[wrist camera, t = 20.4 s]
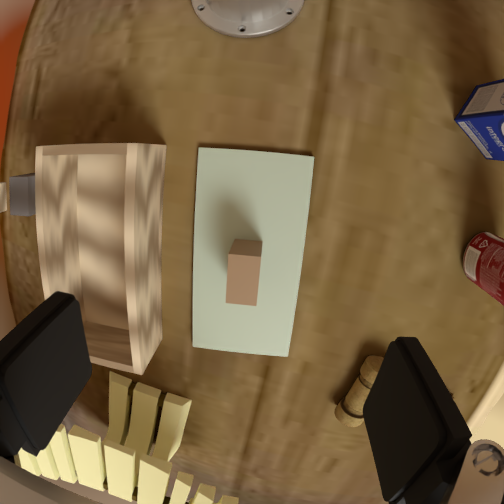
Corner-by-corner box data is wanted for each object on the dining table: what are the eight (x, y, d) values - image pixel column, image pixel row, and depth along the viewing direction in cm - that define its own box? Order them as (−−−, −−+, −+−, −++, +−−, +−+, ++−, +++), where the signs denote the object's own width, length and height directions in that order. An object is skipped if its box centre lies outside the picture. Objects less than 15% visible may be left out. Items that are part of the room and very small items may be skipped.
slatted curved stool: (69, 412, 47) (26, 478, 30) (63, 350, 42) (1, 421, 25) (222, 467, 48) (209, 549, 31) (247, 414, 43) (236, 516, 26)
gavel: (476, 384, 37) (442, 429, 40) (463, 368, 41) (432, 412, 44) (373, 372, 35) (337, 426, 38) (362, 351, 39) (331, 404, 42)
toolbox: (58, 145, 33) (10, 148, 24) (166, 145, 33) (132, 142, 24) (68, 318, 40) (33, 350, 31) (162, 338, 40) (138, 381, 31)
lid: (201, 147, 33) (185, 146, 27) (312, 156, 33) (322, 156, 26) (194, 341, 40) (182, 372, 34) (287, 351, 40) (289, 384, 34)
